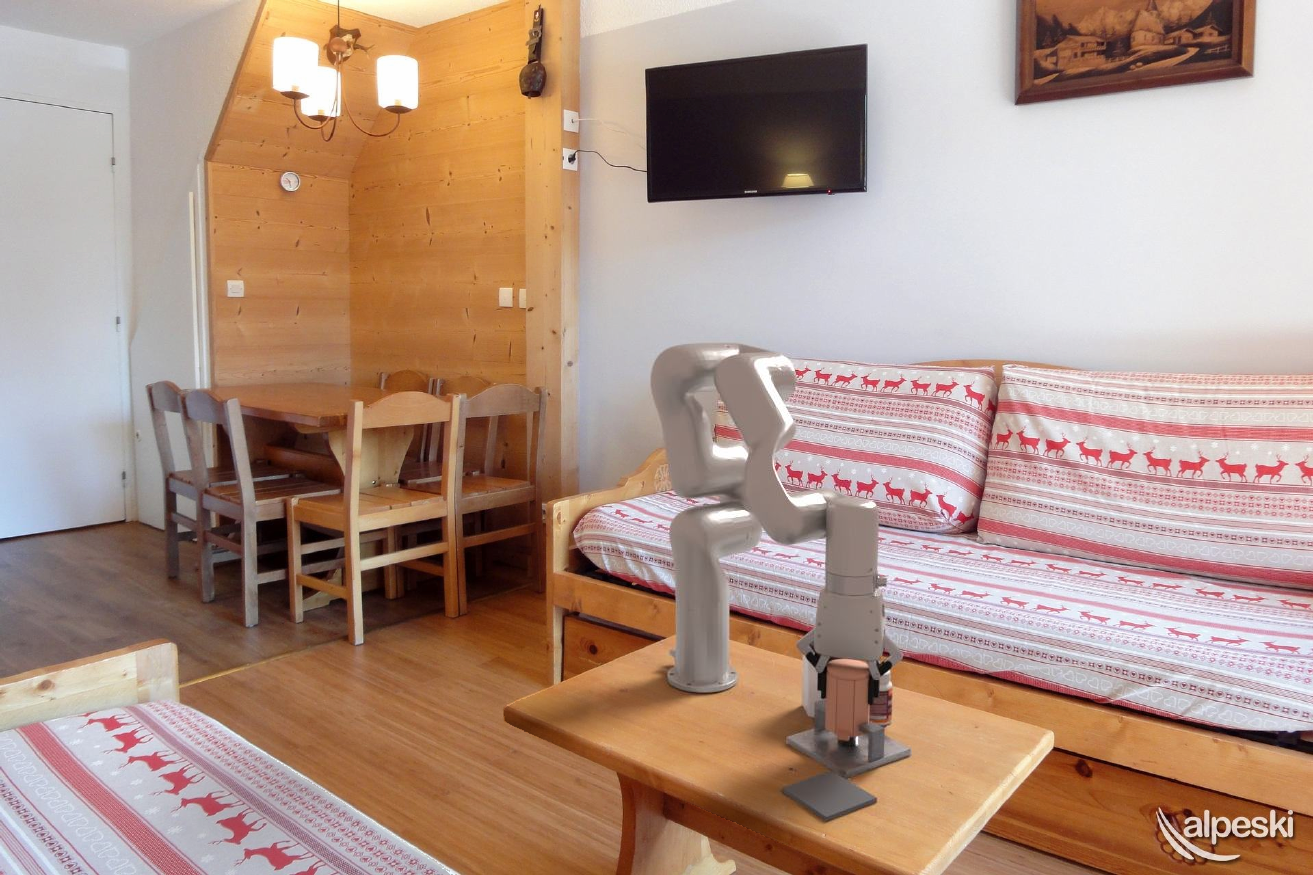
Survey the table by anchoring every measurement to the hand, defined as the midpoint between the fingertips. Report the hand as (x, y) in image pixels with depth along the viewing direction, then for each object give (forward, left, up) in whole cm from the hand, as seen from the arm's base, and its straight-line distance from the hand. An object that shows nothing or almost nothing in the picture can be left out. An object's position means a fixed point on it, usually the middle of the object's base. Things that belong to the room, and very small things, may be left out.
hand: (847, 697), depth 140 cm
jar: (-12, +7, -8) cm, 16 cm away
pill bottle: (-5, +11, -8) cm, 15 cm away
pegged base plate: (0, 0, -8) cm, 8 cm away
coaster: (+9, -12, -8) cm, 17 cm away
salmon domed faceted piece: (0, 0, -5) cm, 5 cm away
